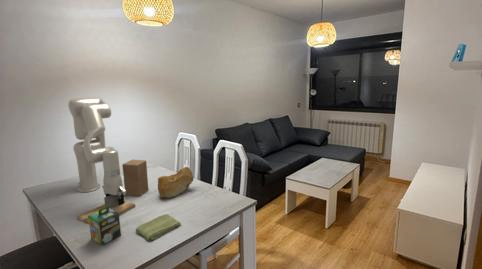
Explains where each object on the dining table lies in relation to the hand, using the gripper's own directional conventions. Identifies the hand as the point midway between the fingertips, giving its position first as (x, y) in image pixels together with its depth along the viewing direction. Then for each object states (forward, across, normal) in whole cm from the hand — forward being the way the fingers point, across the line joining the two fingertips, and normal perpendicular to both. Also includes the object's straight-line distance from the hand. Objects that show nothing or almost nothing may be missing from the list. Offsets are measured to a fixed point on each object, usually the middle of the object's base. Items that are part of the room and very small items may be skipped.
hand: (115, 202), depth 136 cm
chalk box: (+4, +19, -20) cm, 28 cm away
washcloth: (+4, +35, -5) cm, 36 cm away
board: (+3, 0, -5) cm, 6 cm away
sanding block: (+2, 0, 0) cm, 2 cm away
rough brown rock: (+4, +14, +31) cm, 34 cm away
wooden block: (+4, -6, +20) cm, 21 cm away
